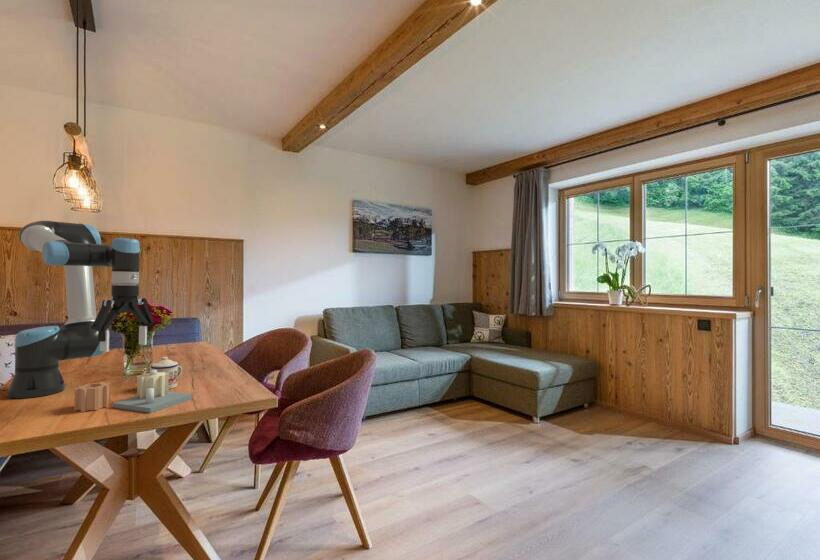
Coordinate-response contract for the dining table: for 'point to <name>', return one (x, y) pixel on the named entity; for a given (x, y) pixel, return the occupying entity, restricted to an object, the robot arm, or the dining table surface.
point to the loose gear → (92, 396)
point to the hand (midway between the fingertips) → (124, 347)
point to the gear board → (153, 406)
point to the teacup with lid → (168, 370)
